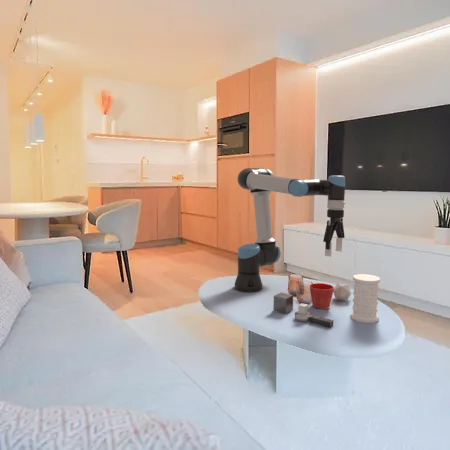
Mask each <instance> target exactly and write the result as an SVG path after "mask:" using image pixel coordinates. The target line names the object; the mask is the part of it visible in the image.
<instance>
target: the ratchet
mask: <svg viewBox="0 0 450 450" xmlns="http://www.w3.org/2000/svg"><path fill="white" fill-rule="evenodd" d="M297 308H298V311H295V312H294V321H296V322H299V323H310V324H314V325H317V326H322V327H324V328H328V329H331V328H332V327H334V320H333V319H331V318H328V317H323V316H319V315H314V314H313V315H312V313H311V312H309V304H306V303H302V302H301V303H300V304H298V307H297Z"/></svg>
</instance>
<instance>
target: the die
mask: <svg viewBox="0 0 450 450" xmlns="http://www.w3.org/2000/svg"><path fill="white" fill-rule="evenodd" d="M333 295H334V298H335V301H341V302H348V300H349V298H350V296H351V295H352V292H351V288H350V286H349V284H347V283H340V282H338V283H336V284H335V286H334V290H333Z"/></svg>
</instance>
